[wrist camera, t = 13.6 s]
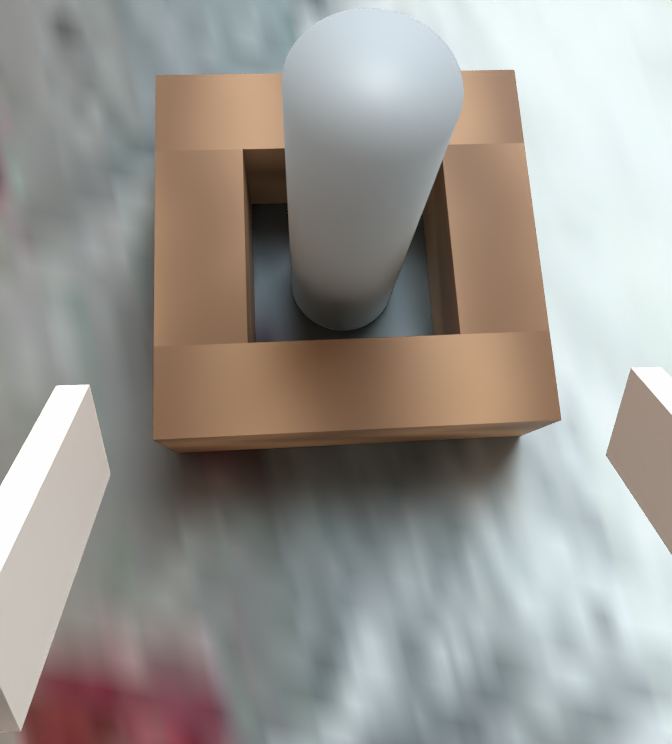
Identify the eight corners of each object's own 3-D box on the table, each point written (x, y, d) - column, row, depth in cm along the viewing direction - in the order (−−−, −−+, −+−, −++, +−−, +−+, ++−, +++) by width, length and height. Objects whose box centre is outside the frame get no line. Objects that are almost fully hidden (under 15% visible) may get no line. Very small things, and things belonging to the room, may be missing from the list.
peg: (409, 268, 26) (495, 64, 14) (358, 349, 25) (405, 201, 14) (326, 218, 26) (343, -22, 15) (272, 296, 25) (245, 107, 14)
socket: (484, 133, 28) (514, 69, 24) (520, 435, 25) (561, 419, 21) (177, 140, 27) (155, 75, 23) (177, 452, 24) (152, 439, 20)
